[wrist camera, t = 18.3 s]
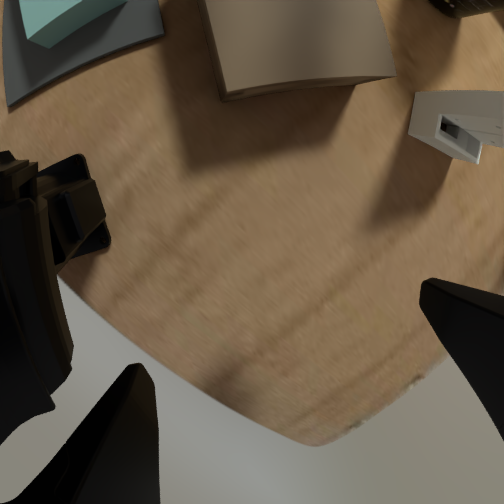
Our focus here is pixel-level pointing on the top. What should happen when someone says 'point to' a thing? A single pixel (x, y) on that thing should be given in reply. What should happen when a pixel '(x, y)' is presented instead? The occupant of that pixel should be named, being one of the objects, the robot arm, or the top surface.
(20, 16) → the rubber mat
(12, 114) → the top surface
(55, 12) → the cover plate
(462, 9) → the supplement bottle
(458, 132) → the white wedge bracket
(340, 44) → the sleeve box
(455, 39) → the top surface
